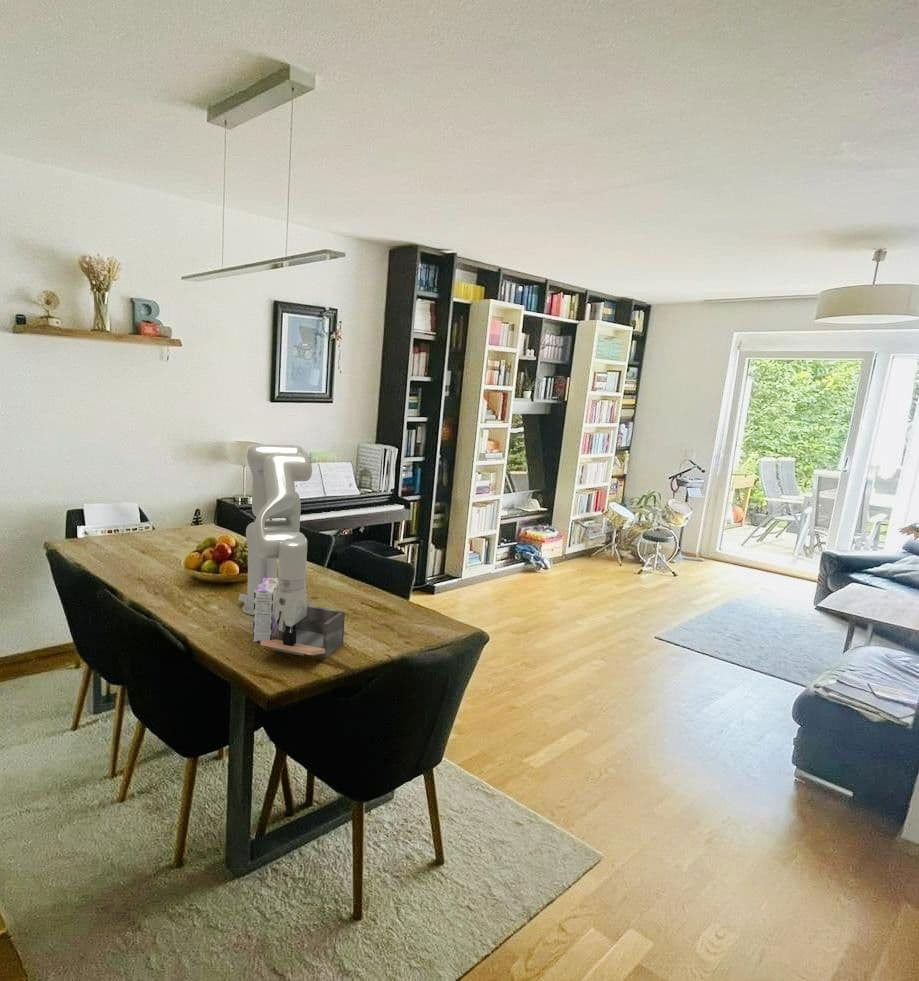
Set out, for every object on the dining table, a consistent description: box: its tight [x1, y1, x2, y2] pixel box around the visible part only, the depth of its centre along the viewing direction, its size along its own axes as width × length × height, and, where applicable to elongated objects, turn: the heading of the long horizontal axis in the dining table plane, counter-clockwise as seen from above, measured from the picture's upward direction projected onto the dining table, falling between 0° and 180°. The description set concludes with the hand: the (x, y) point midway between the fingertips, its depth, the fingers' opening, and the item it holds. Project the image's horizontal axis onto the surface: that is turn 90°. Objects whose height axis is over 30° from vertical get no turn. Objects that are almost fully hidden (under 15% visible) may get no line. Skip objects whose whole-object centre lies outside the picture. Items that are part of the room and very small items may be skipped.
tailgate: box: [259, 639, 326, 656], centre depth 177 cm, size 16×2×9 cm
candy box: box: [252, 577, 279, 643], centre depth 193 cm, size 14×6×16 cm, turn 5°
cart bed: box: [277, 604, 346, 659], centre depth 187 cm, size 16×11×10 cm
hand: (289, 644), depth 175 cm, fingers closed
